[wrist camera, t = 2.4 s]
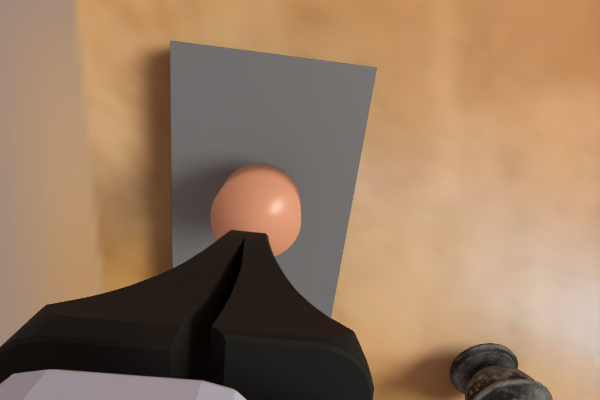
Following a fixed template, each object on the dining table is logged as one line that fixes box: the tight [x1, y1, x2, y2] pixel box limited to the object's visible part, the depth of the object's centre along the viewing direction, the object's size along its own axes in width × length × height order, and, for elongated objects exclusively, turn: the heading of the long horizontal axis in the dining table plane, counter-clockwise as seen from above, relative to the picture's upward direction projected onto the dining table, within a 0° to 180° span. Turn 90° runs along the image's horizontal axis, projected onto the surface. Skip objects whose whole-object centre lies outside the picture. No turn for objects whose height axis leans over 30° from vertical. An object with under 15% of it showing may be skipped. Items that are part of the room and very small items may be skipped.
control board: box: [170, 41, 377, 318], centre depth 22 cm, size 24×10×2 cm, turn 173°
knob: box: [210, 163, 301, 256], centre depth 17 cm, size 4×4×5 cm
